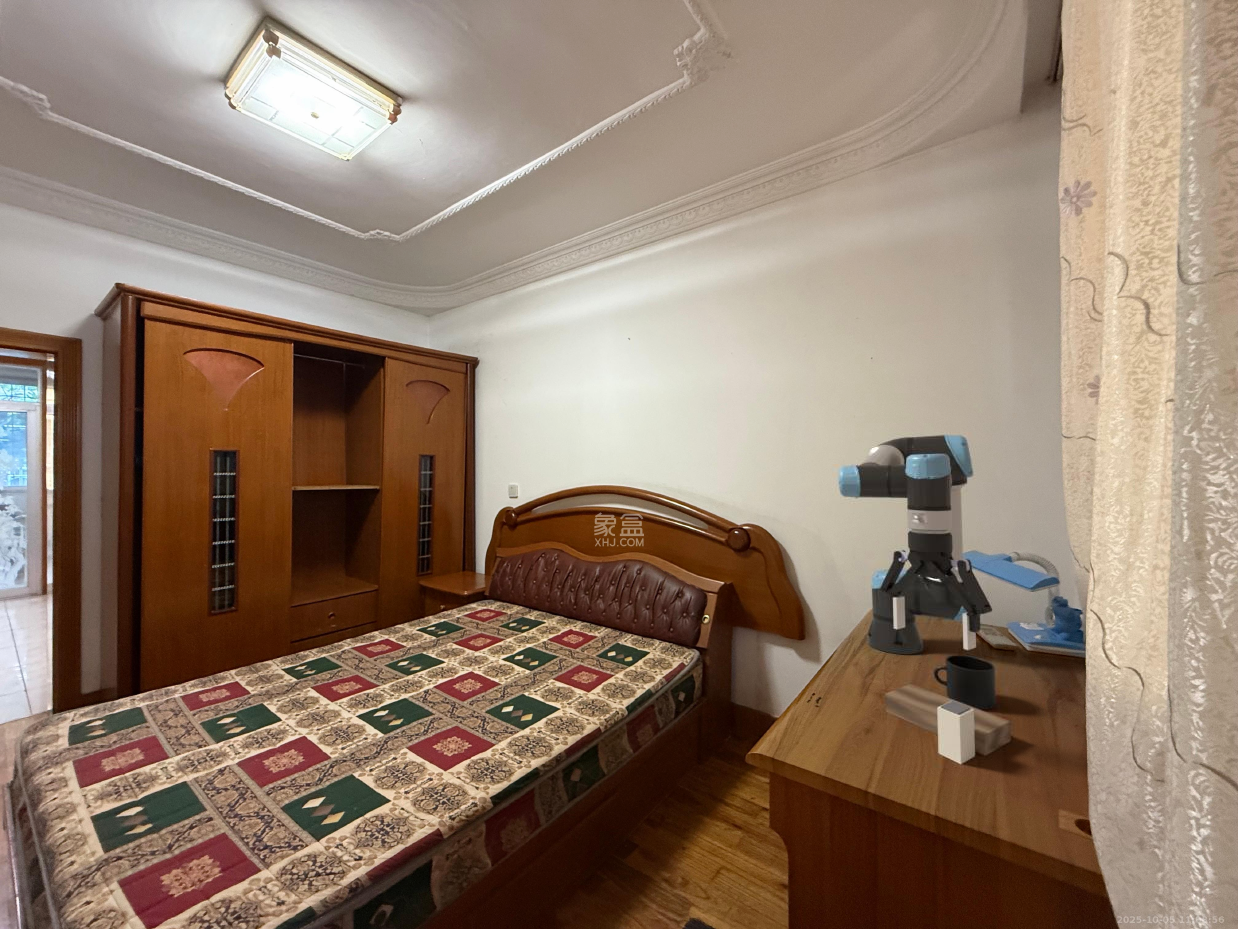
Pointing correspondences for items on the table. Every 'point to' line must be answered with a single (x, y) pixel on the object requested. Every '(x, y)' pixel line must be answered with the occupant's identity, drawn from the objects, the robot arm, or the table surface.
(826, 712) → the table surface
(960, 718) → the block
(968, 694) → the mug
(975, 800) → the table surface
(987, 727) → the wooden plank
